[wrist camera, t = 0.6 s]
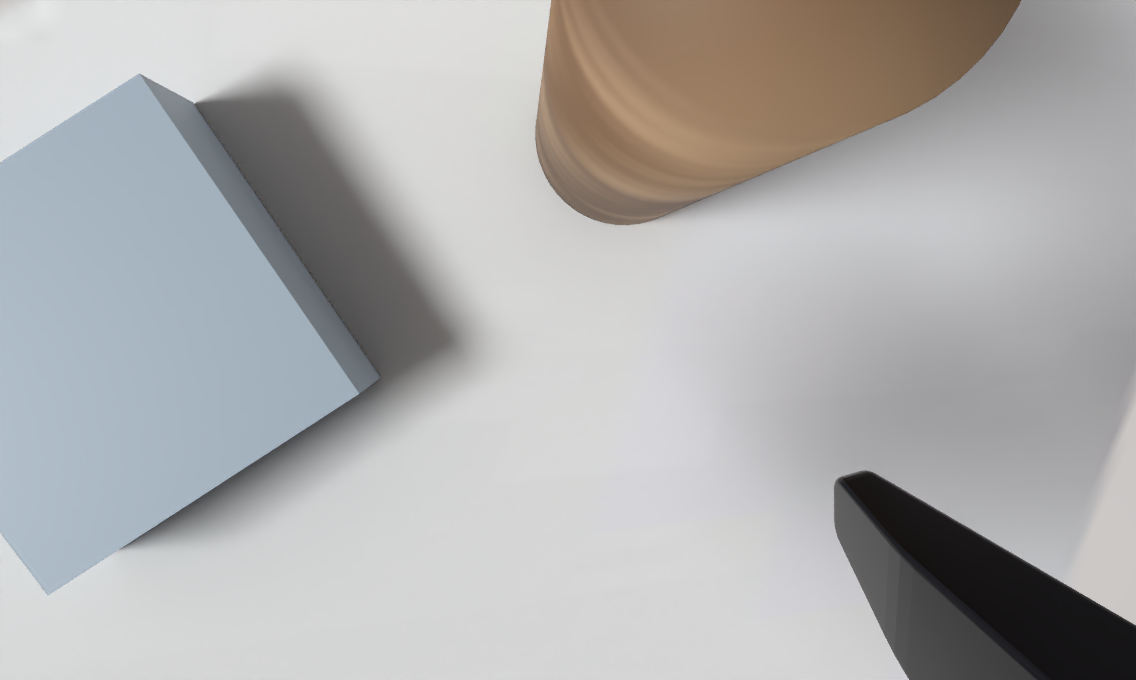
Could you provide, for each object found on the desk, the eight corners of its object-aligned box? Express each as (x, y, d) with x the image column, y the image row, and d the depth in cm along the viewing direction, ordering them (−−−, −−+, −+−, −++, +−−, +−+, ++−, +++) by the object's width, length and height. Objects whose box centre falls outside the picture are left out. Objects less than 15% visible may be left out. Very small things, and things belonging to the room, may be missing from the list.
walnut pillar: (743, 163, 22) (1133, -32, 8) (597, 258, 22) (736, 226, 8) (651, 10, 22) (896, -480, 8) (500, 106, 21) (471, -208, 8)
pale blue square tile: (381, 378, 22) (359, 393, 19) (112, 551, 22) (48, 595, 19) (193, 102, 21) (138, 73, 18) (-88, 282, 21) (-190, 283, 18)
